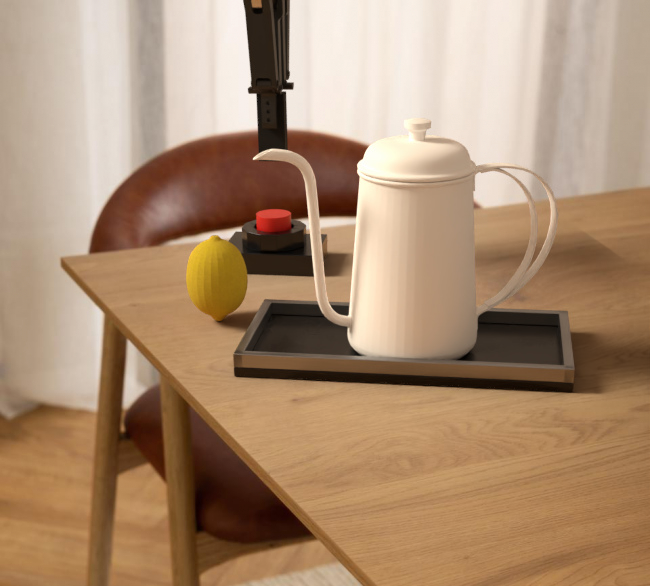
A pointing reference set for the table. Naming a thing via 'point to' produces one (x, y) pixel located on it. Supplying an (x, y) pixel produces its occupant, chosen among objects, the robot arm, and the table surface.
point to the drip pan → (468, 371)
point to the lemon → (216, 277)
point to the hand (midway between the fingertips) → (273, 159)
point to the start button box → (277, 250)
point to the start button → (273, 220)
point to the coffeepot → (415, 246)
